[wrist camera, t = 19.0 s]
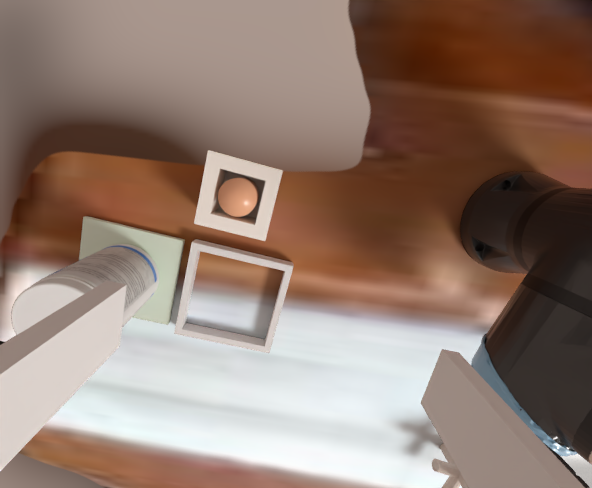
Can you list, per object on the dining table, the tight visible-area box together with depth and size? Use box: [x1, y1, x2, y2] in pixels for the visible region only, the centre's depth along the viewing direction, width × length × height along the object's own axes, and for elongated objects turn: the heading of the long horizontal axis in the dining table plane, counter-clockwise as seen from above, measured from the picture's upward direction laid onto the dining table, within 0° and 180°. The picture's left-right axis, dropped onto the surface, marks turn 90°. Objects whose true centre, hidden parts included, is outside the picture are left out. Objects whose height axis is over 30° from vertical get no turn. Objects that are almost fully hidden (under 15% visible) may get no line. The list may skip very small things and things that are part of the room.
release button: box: [218, 177, 259, 217], centre depth 38 cm, size 5×5×5 cm
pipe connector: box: [432, 443, 469, 488], centre depth 52 cm, size 10×10×10 cm
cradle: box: [174, 239, 293, 353], centre depth 46 cm, size 15×15×2 cm
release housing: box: [194, 150, 283, 241], centre depth 40 cm, size 9×9×7 cm
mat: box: [79, 216, 185, 325], centre depth 45 cm, size 14×14×1 cm
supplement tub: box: [11, 244, 159, 335], centre depth 37 cm, size 10×10×15 cm
